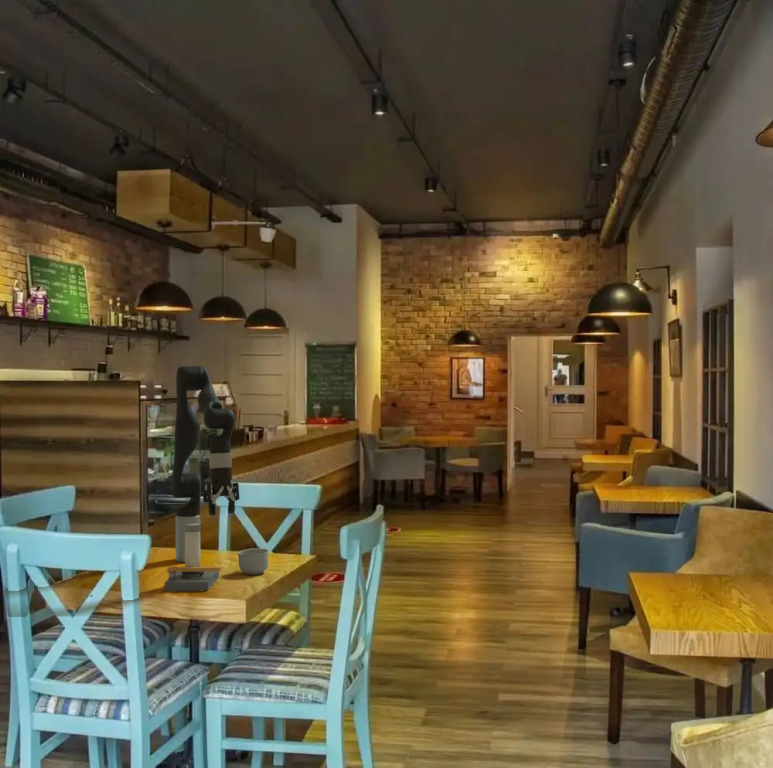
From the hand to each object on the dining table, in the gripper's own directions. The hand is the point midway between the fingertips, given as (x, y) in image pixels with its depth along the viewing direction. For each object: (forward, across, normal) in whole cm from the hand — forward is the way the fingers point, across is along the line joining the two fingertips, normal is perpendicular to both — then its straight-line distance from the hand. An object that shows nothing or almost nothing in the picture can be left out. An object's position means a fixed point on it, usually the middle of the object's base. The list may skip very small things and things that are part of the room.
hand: (222, 514), depth 296 cm
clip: (+18, +10, -3) cm, 21 cm away
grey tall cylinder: (+23, +8, -7) cm, 25 cm away
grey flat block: (+23, +8, -7) cm, 25 cm away
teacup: (+22, -18, -4) cm, 29 cm away
